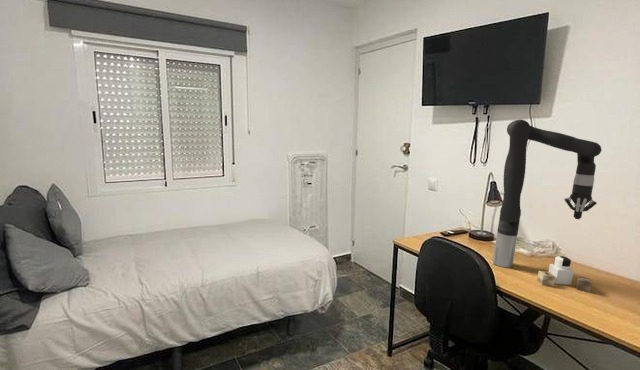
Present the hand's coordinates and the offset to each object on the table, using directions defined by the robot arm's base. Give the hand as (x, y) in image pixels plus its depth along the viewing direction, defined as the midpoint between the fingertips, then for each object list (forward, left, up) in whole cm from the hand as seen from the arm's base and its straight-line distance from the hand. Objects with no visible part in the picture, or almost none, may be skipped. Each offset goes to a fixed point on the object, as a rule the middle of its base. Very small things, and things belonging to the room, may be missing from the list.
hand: (577, 218), depth 164 cm
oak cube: (-13, -16, -29) cm, 36 cm away
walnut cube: (+2, -15, -29) cm, 33 cm away
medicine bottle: (-6, -10, -29) cm, 32 cm away
